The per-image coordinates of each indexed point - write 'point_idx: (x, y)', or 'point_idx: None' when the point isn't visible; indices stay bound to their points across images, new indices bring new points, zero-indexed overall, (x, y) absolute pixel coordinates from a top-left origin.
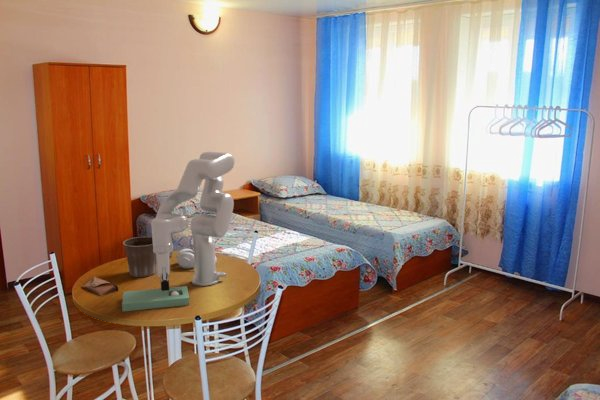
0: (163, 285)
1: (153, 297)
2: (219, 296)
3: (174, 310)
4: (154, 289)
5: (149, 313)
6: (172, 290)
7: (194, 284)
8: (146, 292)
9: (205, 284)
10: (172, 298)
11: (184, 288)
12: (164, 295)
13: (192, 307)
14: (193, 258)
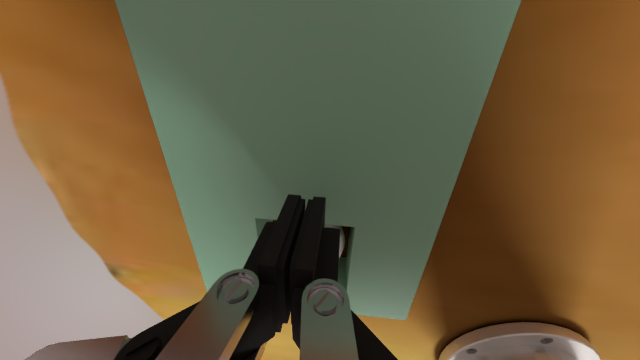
0: (253, 250)
1: (239, 101)
2: (299, 353)
3: (157, 200)
4: (461, 124)
5: (93, 48)
6: (361, 248)
7: (492, 326)
8: (411, 26)
9: (444, 357)
10: (205, 230)
11: (368, 305)
12: (270, 191)
13: (195, 269)
14: None
